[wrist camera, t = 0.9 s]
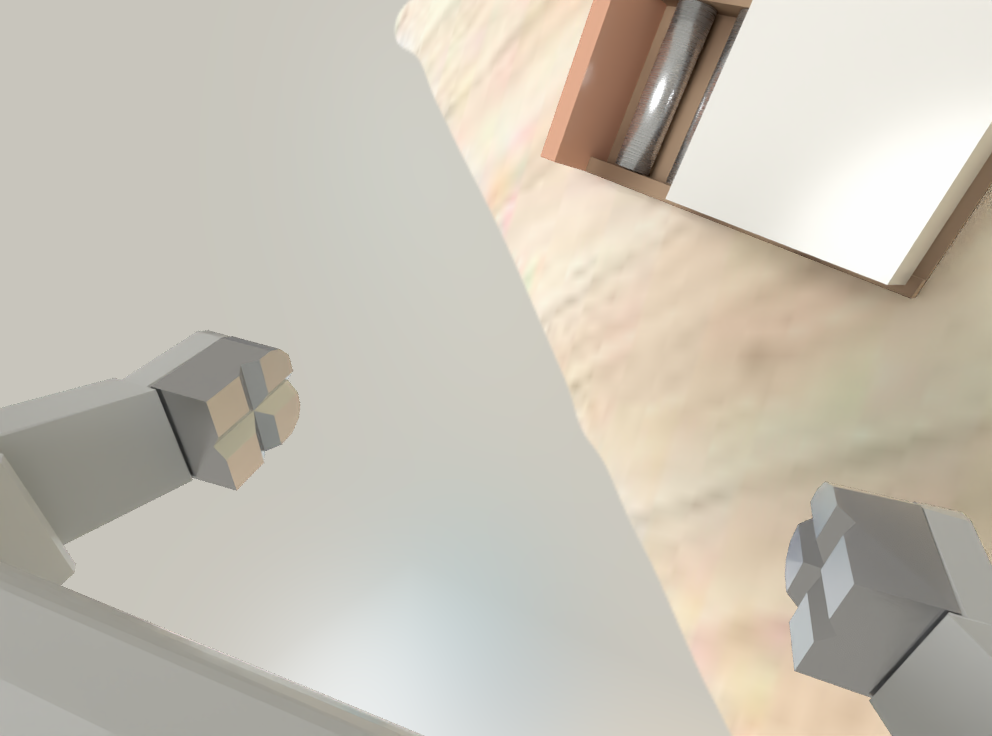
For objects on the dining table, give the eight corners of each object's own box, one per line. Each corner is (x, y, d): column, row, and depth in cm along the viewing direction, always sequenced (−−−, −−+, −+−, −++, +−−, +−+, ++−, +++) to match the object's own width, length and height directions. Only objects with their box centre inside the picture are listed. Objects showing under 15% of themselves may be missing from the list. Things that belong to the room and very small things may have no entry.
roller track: (1075, 57, 25) (1103, -3, 20) (915, 297, 30) (904, 299, 25) (664, -9, 37) (613, -58, 32) (594, 172, 42) (540, 156, 36)
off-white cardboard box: (1064, 41, 23) (1097, -45, 17) (905, 284, 28) (887, 284, 21) (823, 5, 28) (783, -71, 22) (721, 214, 33) (665, 199, 27)
